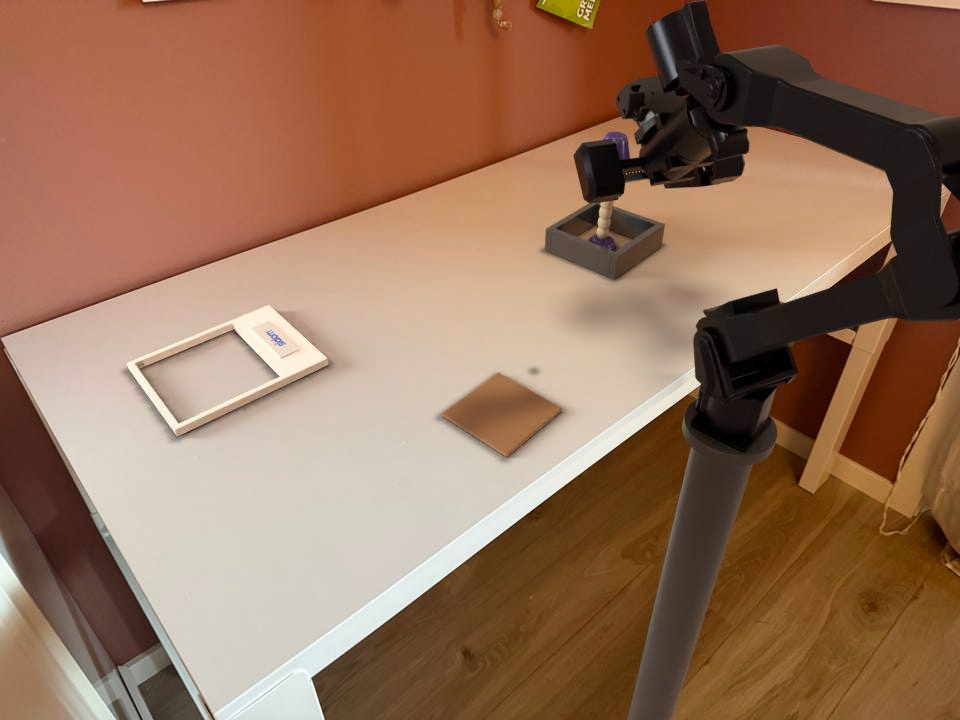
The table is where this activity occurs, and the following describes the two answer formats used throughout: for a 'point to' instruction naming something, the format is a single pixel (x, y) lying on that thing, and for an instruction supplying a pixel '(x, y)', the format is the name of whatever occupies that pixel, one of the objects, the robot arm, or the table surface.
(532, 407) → the cork pad
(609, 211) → the toy lamp
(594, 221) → the grey square tray
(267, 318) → the photo frame
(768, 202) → the table surface
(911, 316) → the robot arm
